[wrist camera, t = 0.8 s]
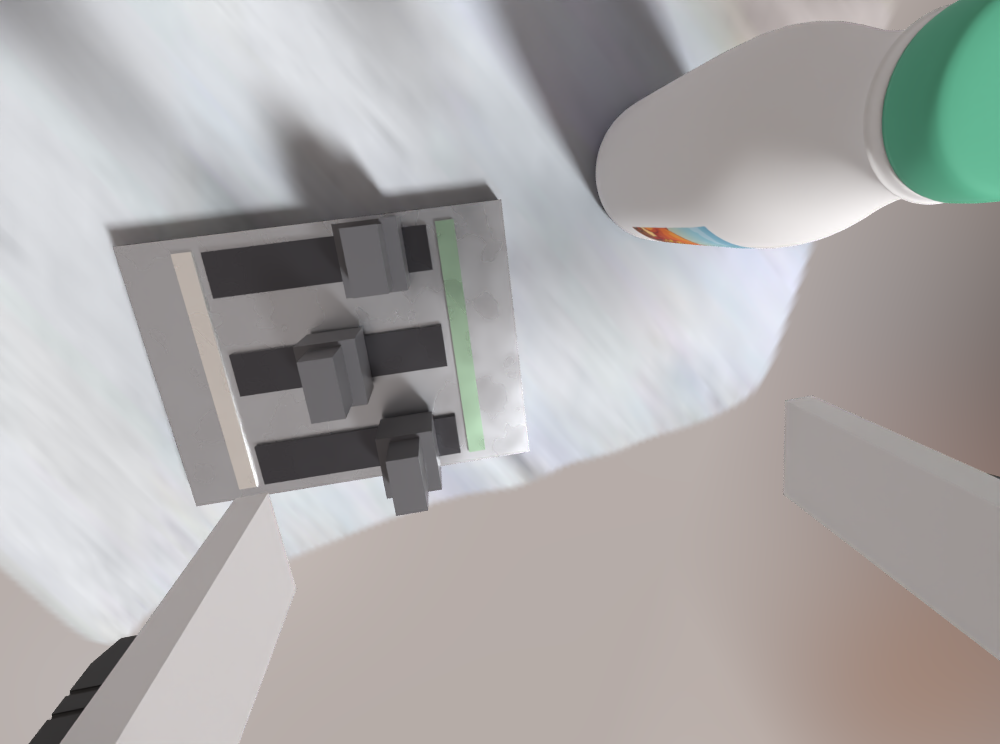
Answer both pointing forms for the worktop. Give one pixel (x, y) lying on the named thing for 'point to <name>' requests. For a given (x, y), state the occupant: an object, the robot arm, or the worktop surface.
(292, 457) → the panel
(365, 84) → the worktop surface
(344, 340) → the handle mid
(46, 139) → the worktop surface
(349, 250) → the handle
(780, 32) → the milk bottle
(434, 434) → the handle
